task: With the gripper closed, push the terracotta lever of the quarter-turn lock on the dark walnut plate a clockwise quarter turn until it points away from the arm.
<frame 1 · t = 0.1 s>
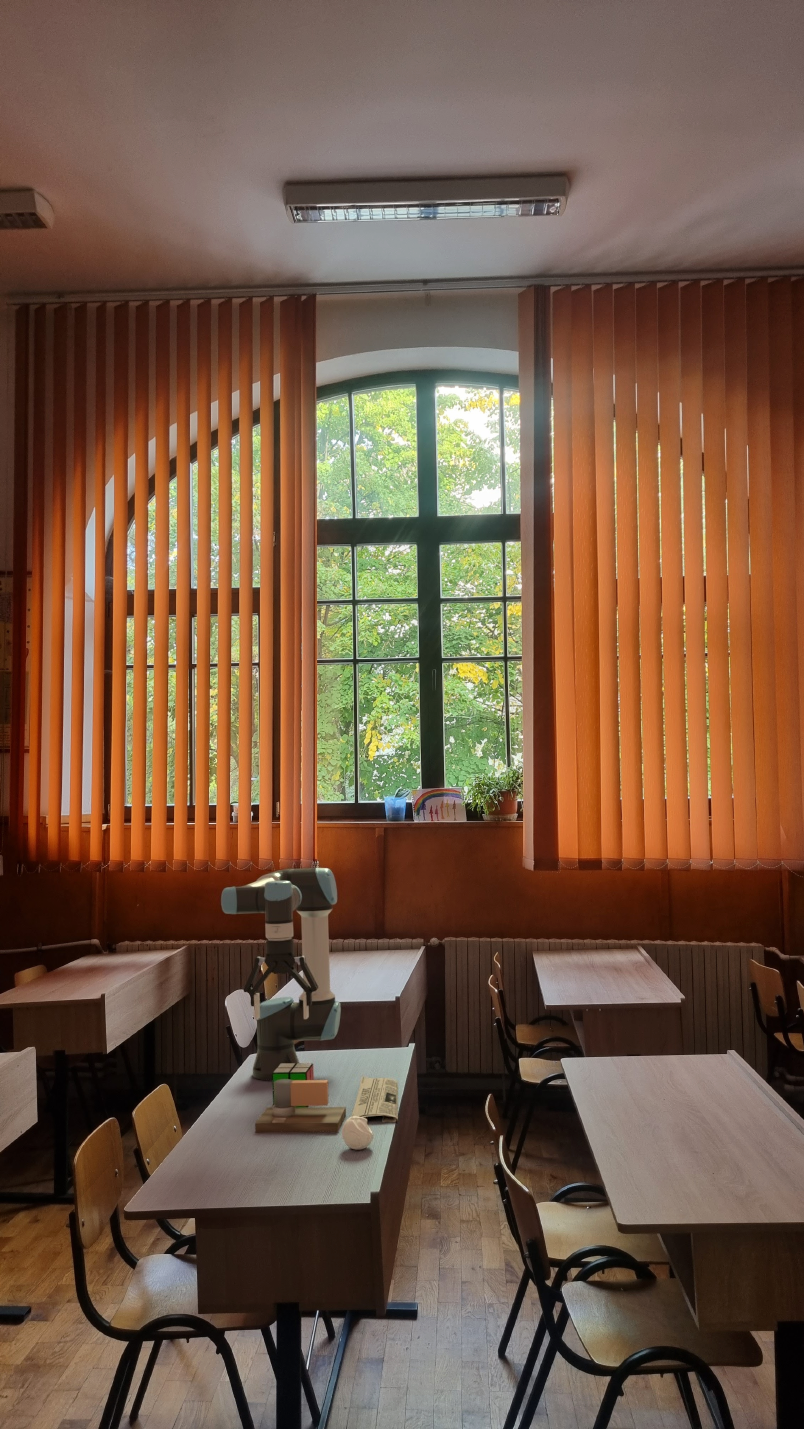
hand: (281, 1018, 261), 28 cm above the table, tool pointing down, fingers open, 13 cm apart
baseball: (358, 1149, 239), on the table
puzzle cube: (294, 1104, 278), on the table
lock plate: (301, 1124, 259), on the table
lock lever: (300, 1093, 261), point 8 cm above the table, hinge at 0.0°
newspaper: (376, 1105, 275), on the table
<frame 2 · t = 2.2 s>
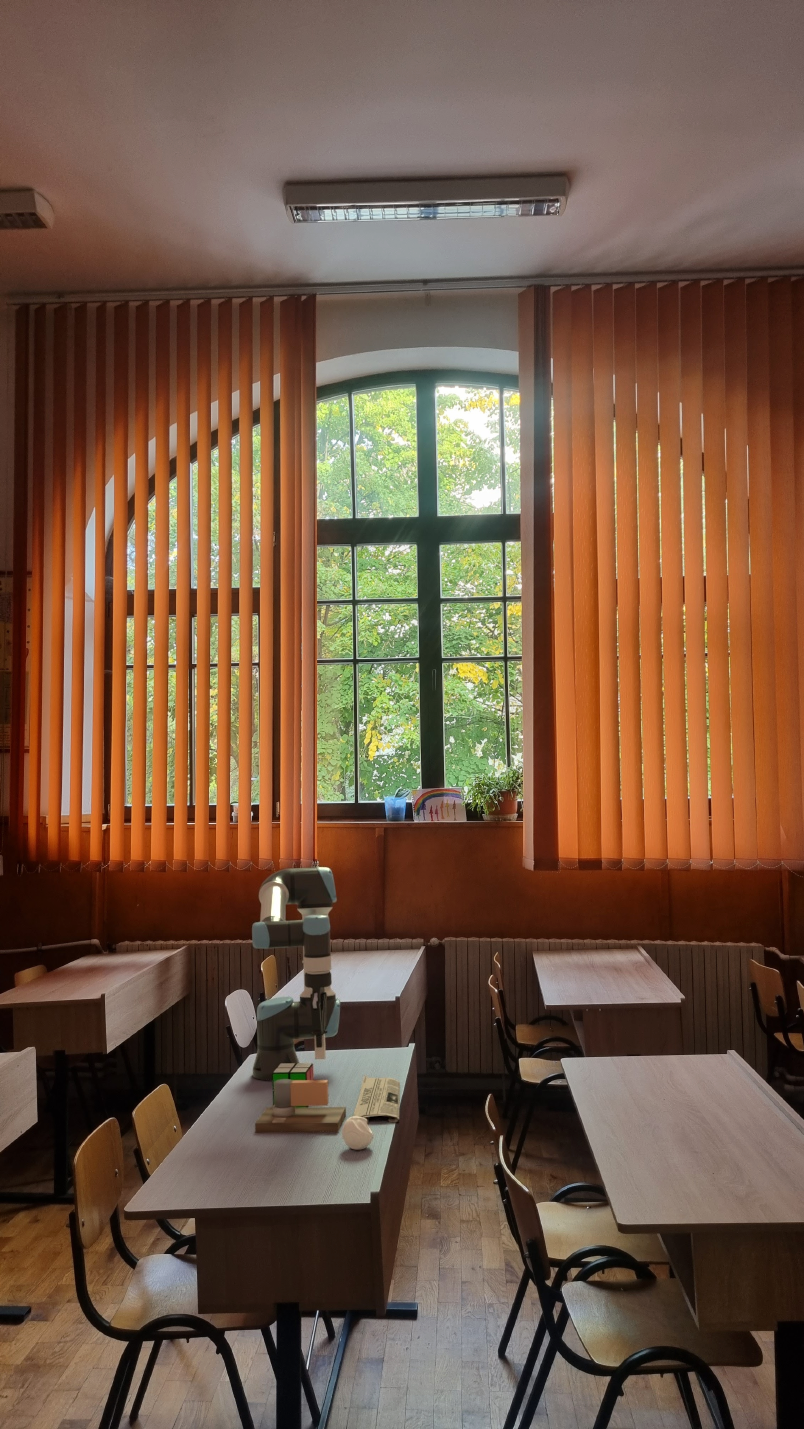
hand: (320, 1058, 268), 15 cm above the table, tool pointing down, fingers closed
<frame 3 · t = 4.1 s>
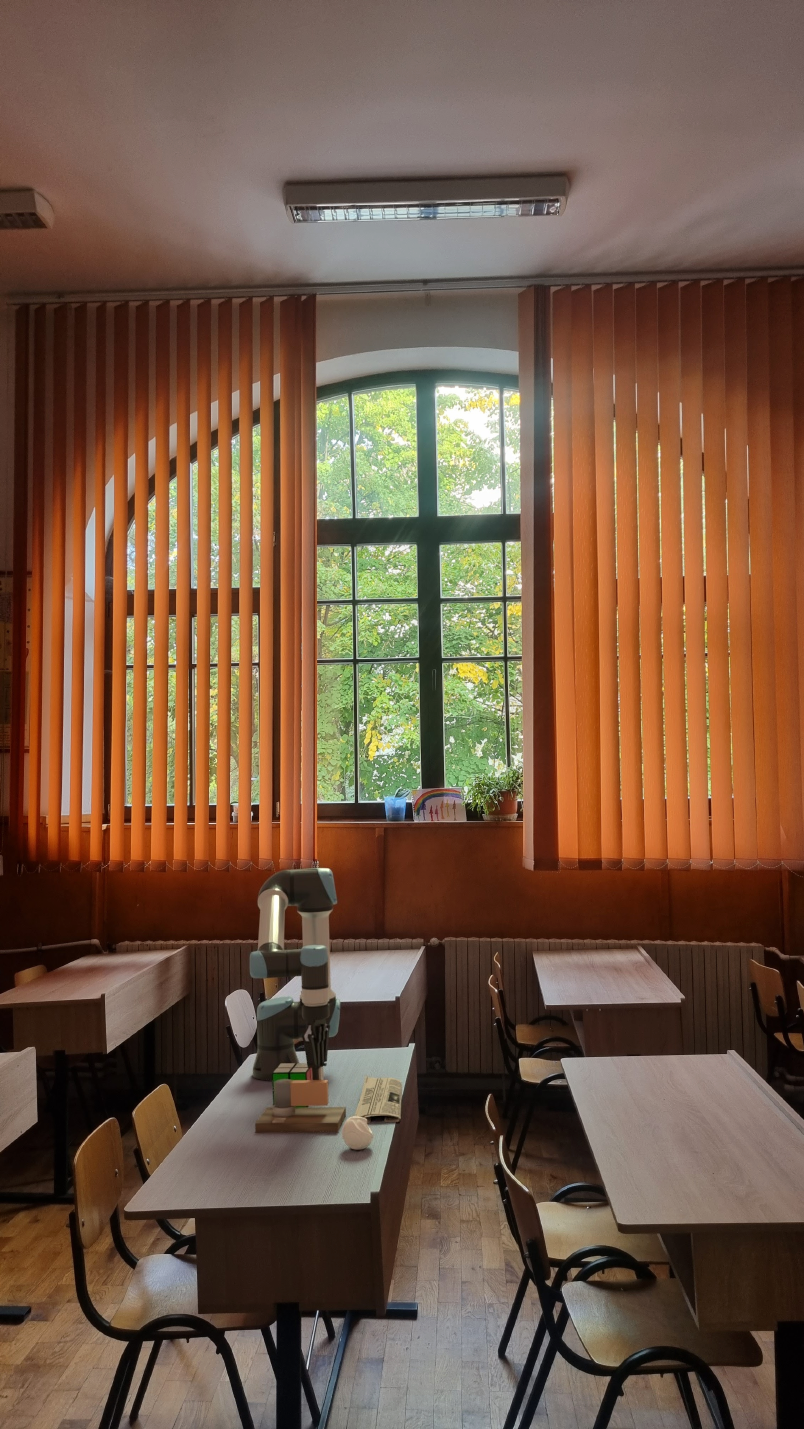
hand: (318, 1091, 264), 7 cm above the table, tool pointing down, fingers closed
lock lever: (300, 1093, 261), point 8 cm above the table, hinge at 0.0°, touching gripper
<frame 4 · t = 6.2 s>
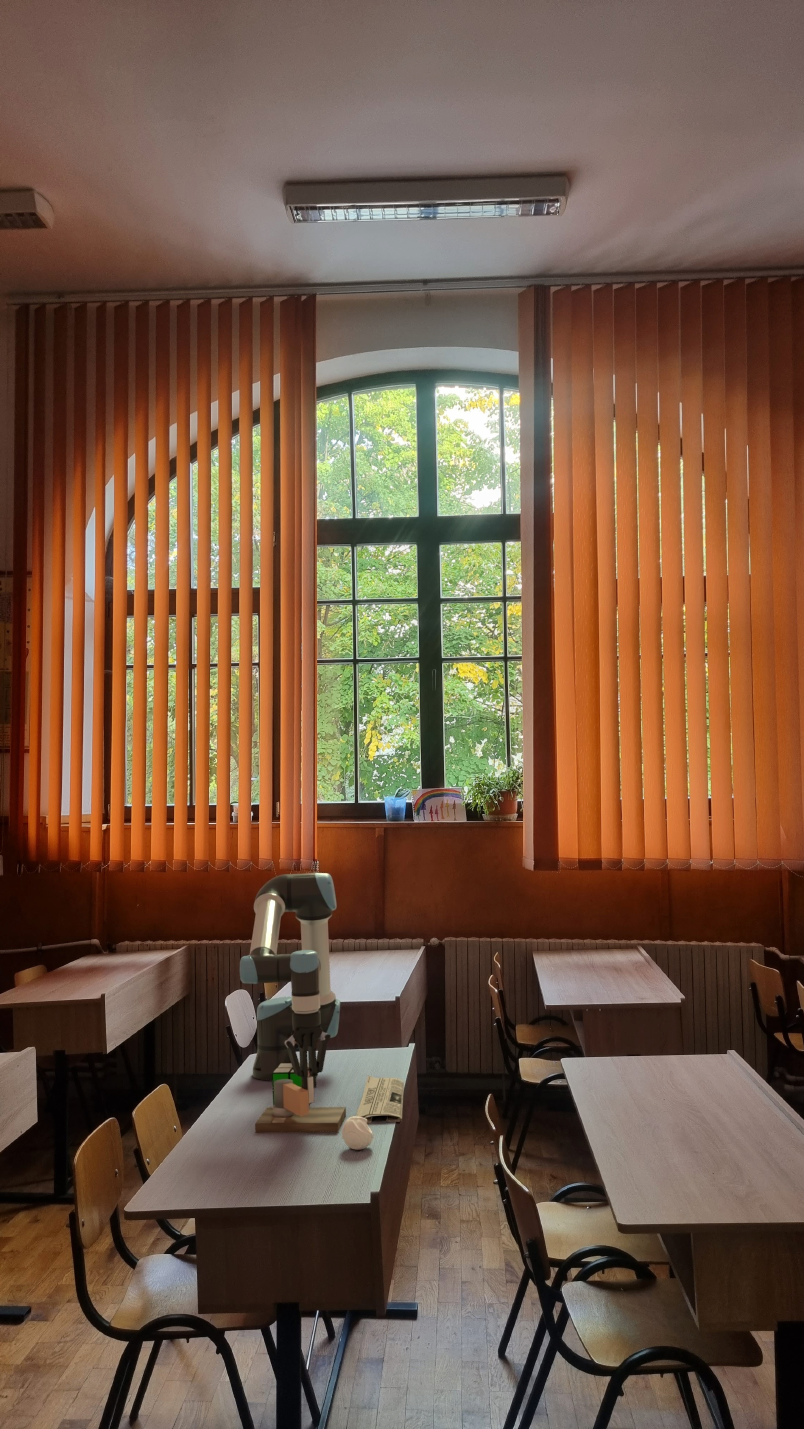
hand: (309, 1101, 256), 7 cm above the table, tool pointing down, fingers closed
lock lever: (291, 1097, 258), point 8 cm above the table, hinge at -51.0°, touching gripper
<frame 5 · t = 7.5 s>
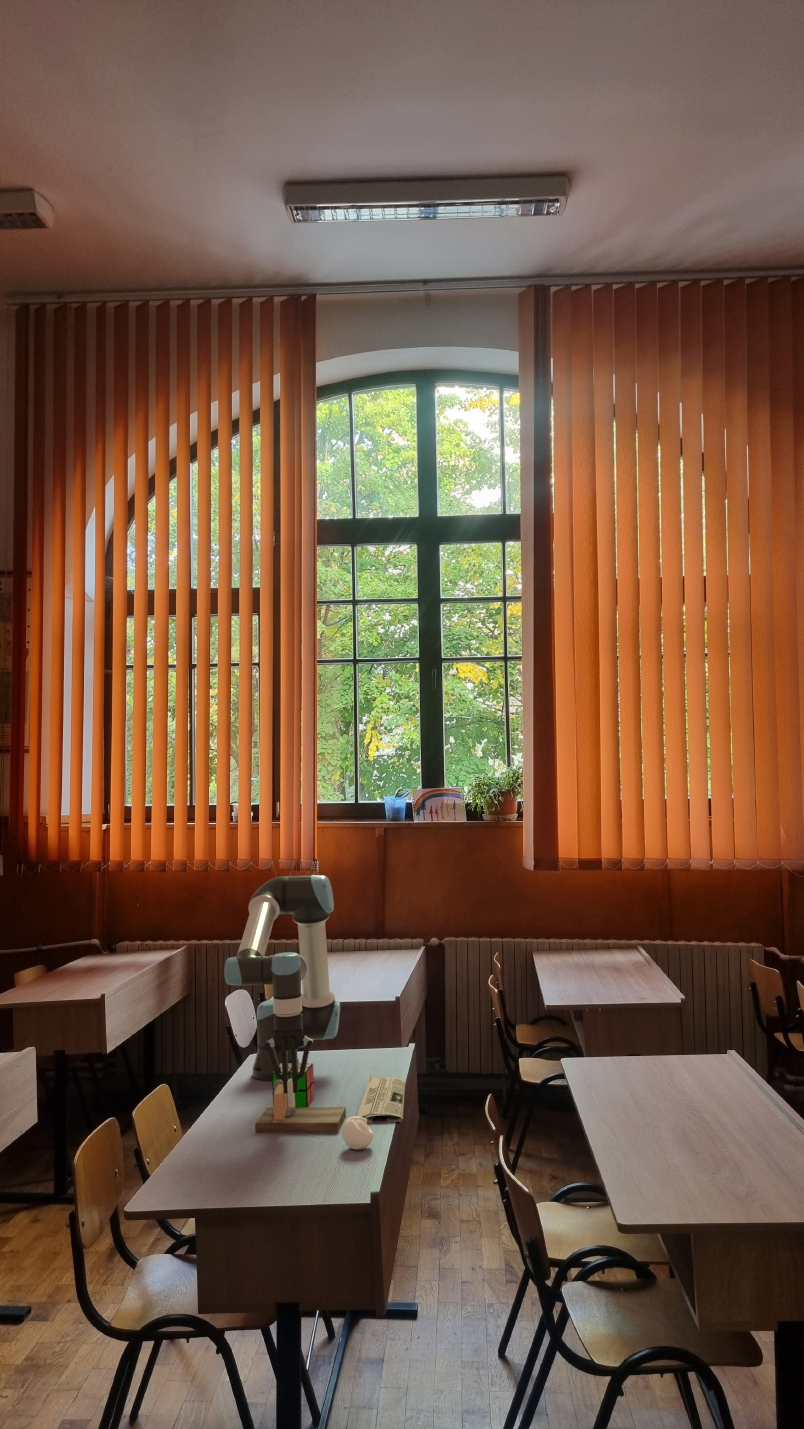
hand: (291, 1105, 253), 7 cm above the table, tool pointing down, fingers closed
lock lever: (281, 1098, 257), point 8 cm above the table, hinge at -83.7°, touching gripper
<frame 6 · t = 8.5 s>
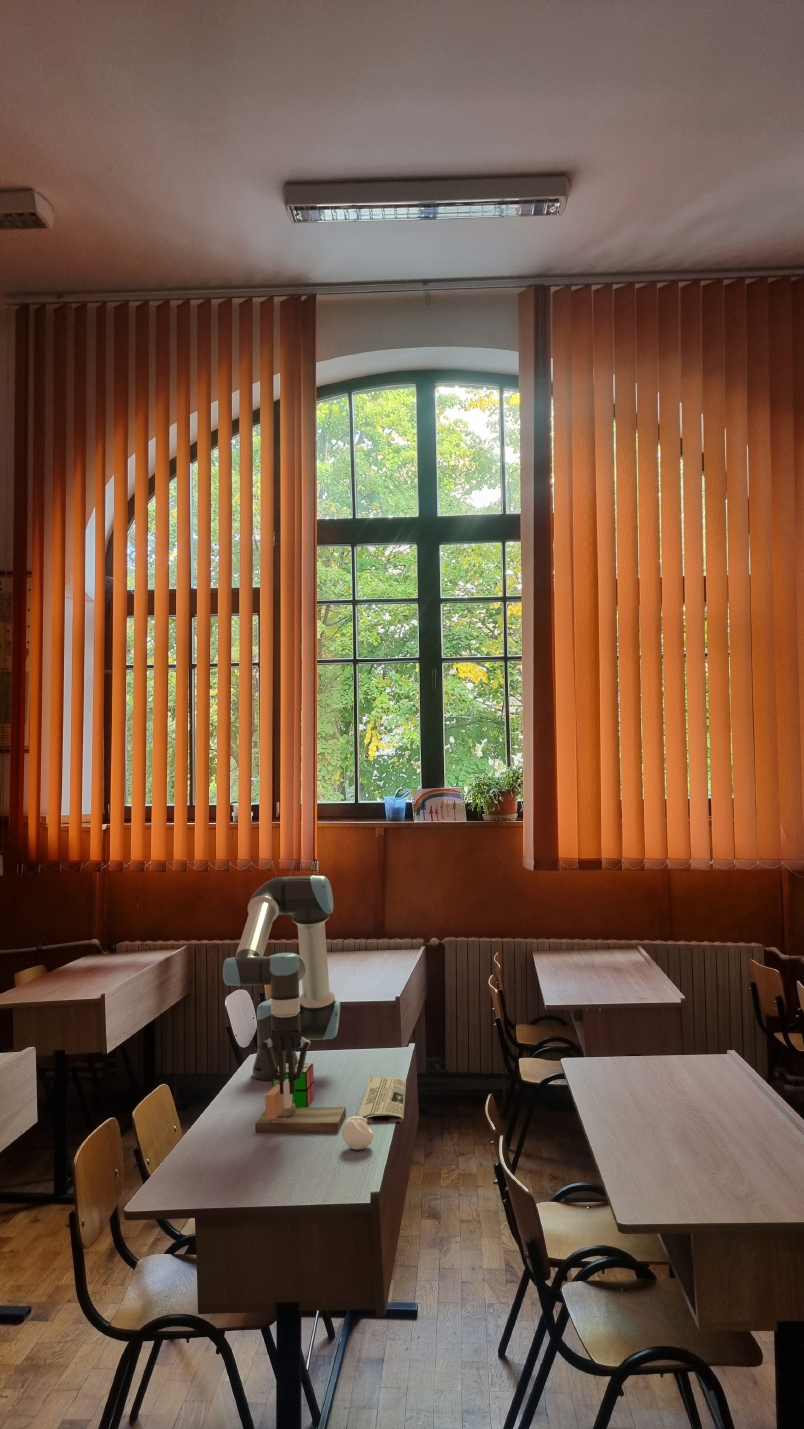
hand: (288, 1106, 252), 7 cm above the table, tool pointing down, fingers closed
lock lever: (278, 1098, 257), point 8 cm above the table, hinge at -94.5°
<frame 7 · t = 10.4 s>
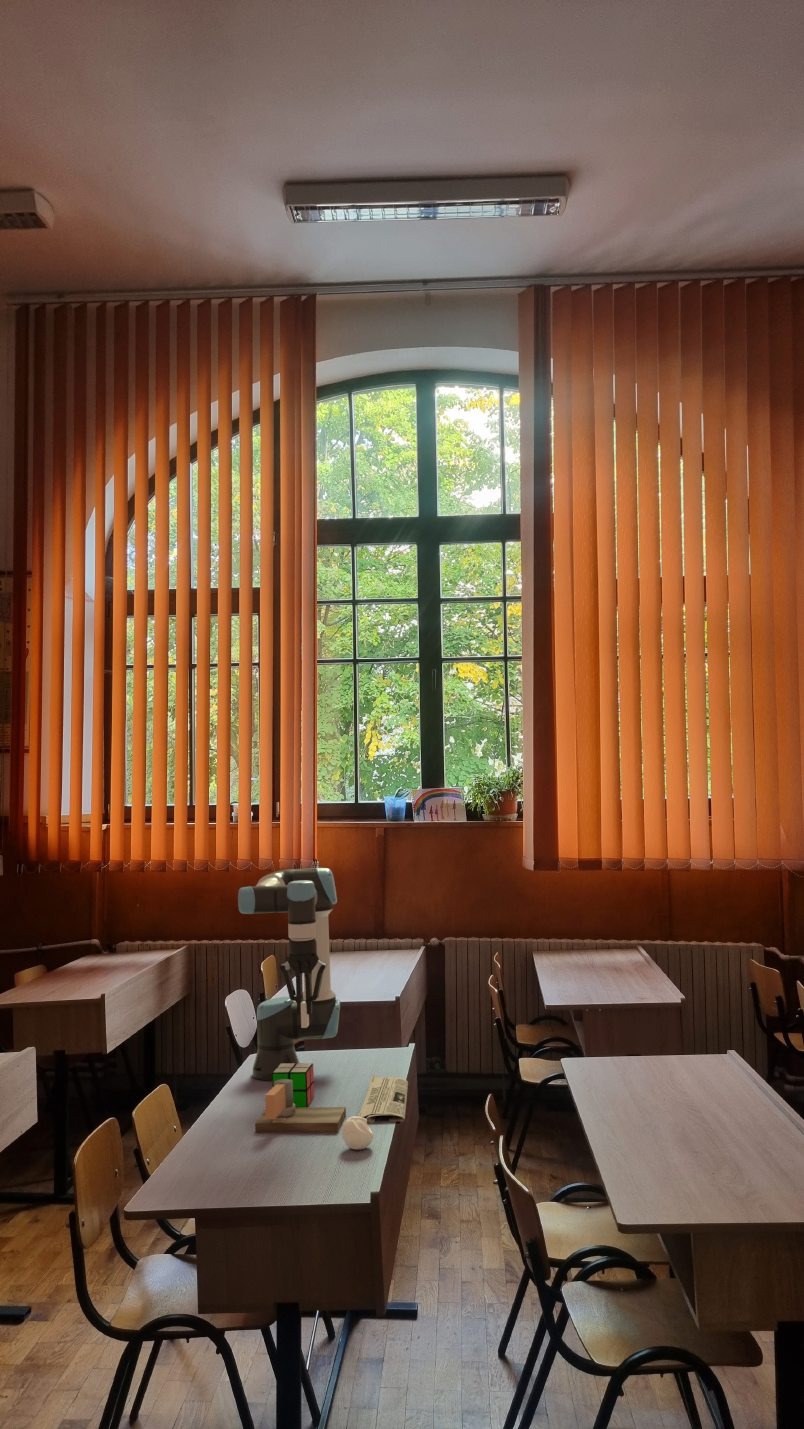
hand: (305, 1026, 262), 25 cm above the table, tool pointing down, fingers closed
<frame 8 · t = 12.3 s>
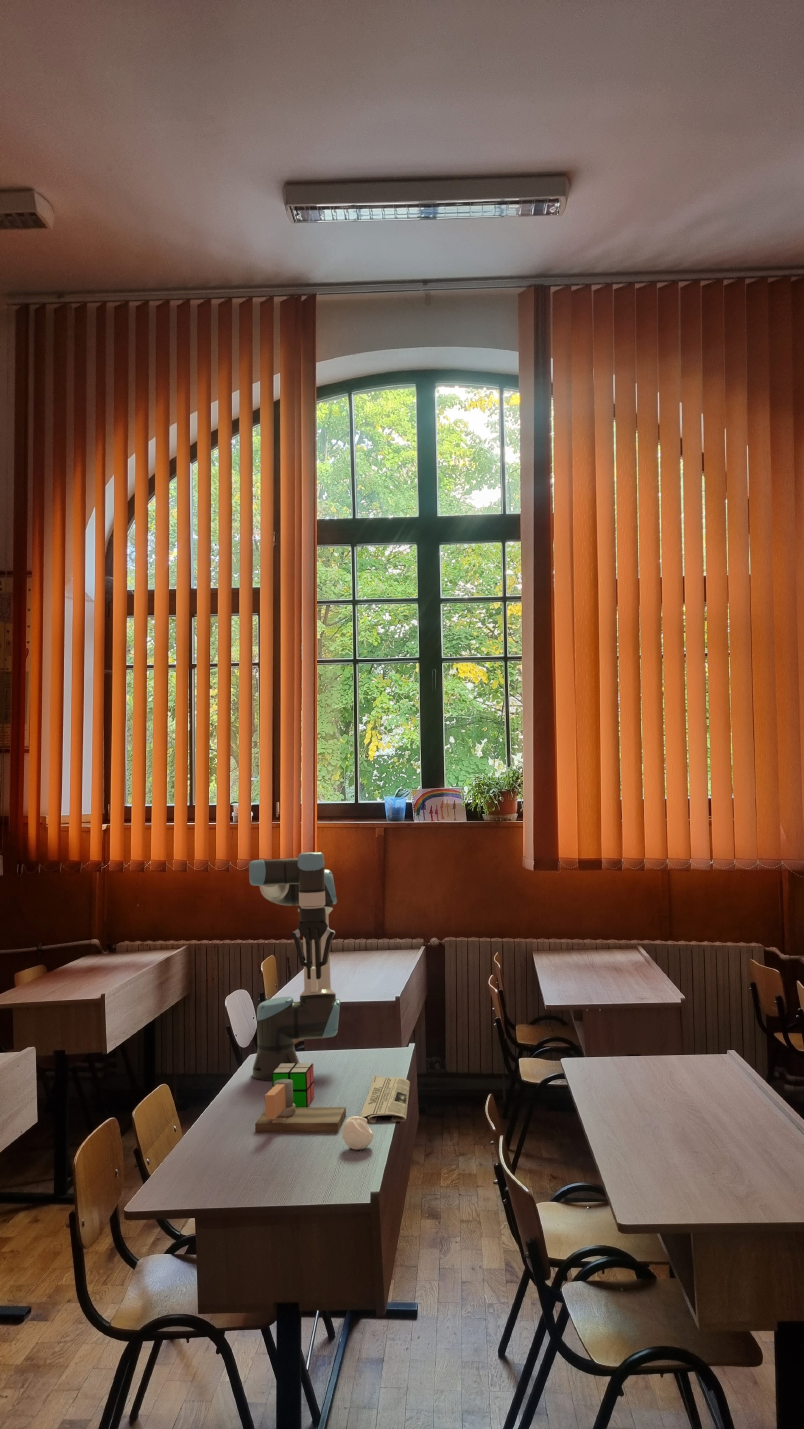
hand: (314, 990, 275), 32 cm above the table, tool pointing down, fingers closed
at the end: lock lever at -94° (first picture: +0°) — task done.
